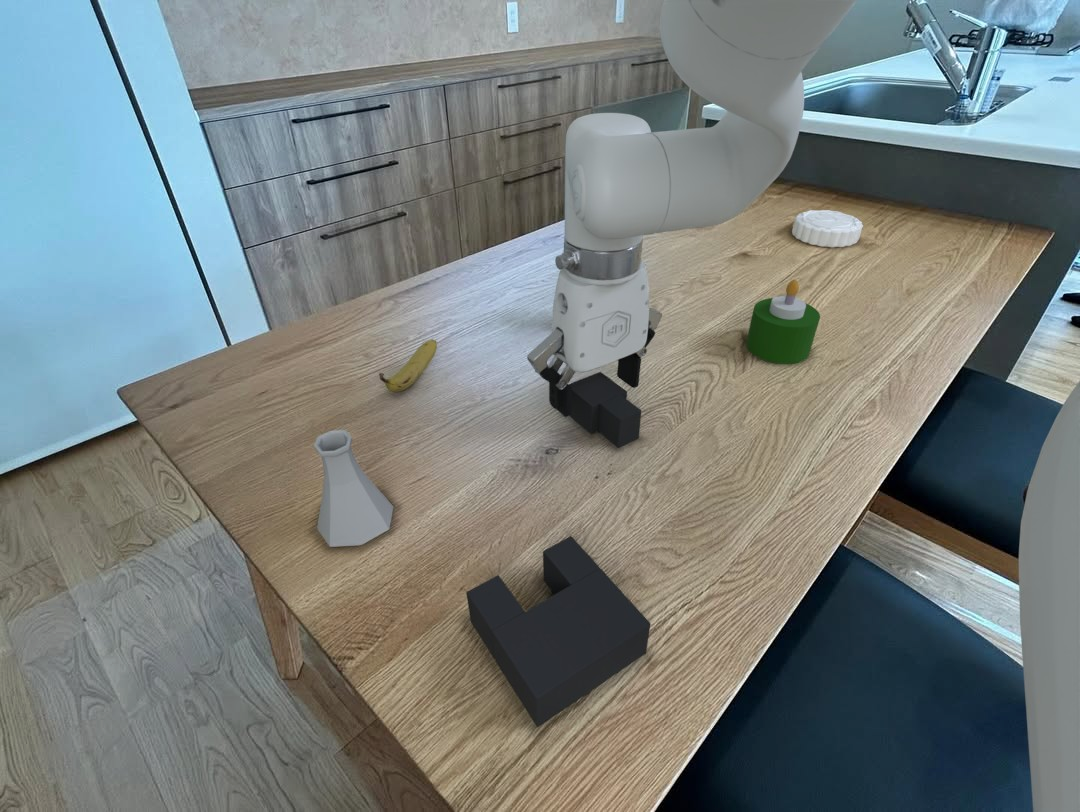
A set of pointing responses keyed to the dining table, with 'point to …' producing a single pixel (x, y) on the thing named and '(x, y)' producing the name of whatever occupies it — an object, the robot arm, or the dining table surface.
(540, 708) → the notch pad
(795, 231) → the mooncake
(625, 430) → the pad
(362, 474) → the flask
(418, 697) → the dining table surface
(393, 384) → the banana
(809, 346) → the candle
